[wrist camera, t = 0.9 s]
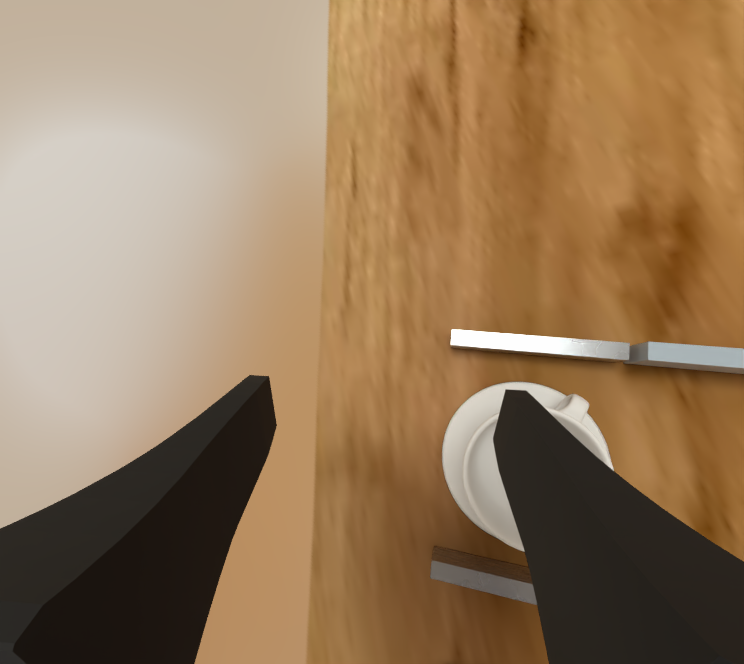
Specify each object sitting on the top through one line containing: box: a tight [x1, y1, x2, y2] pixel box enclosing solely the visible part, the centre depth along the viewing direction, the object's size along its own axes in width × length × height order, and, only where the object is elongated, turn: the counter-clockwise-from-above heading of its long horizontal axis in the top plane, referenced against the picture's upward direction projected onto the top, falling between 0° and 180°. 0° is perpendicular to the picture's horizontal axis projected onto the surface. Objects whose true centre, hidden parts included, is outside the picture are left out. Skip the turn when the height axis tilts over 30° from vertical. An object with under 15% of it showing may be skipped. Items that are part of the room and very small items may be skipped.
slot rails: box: [430, 329, 630, 605], centre depth 22 cm, size 15×10×2 cm, turn 174°
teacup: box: [442, 382, 614, 552], centre depth 21 cm, size 10×10×5 cm
